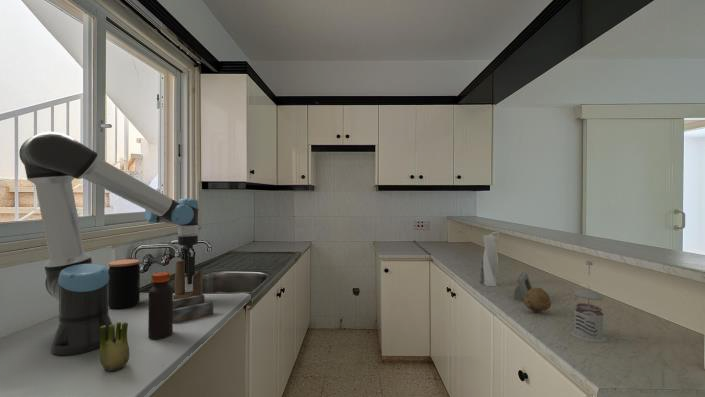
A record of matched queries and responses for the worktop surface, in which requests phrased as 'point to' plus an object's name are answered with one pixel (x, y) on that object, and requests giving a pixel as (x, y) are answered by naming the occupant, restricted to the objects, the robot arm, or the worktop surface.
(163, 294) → the bottle
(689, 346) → the worktop surface
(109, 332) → the fennel bulb
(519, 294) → the digital clock
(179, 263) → the brown upright wooden piece
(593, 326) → the french press
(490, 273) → the skyscraper
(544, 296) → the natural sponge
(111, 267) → the coffee jar
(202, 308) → the metal-railed wooden board
